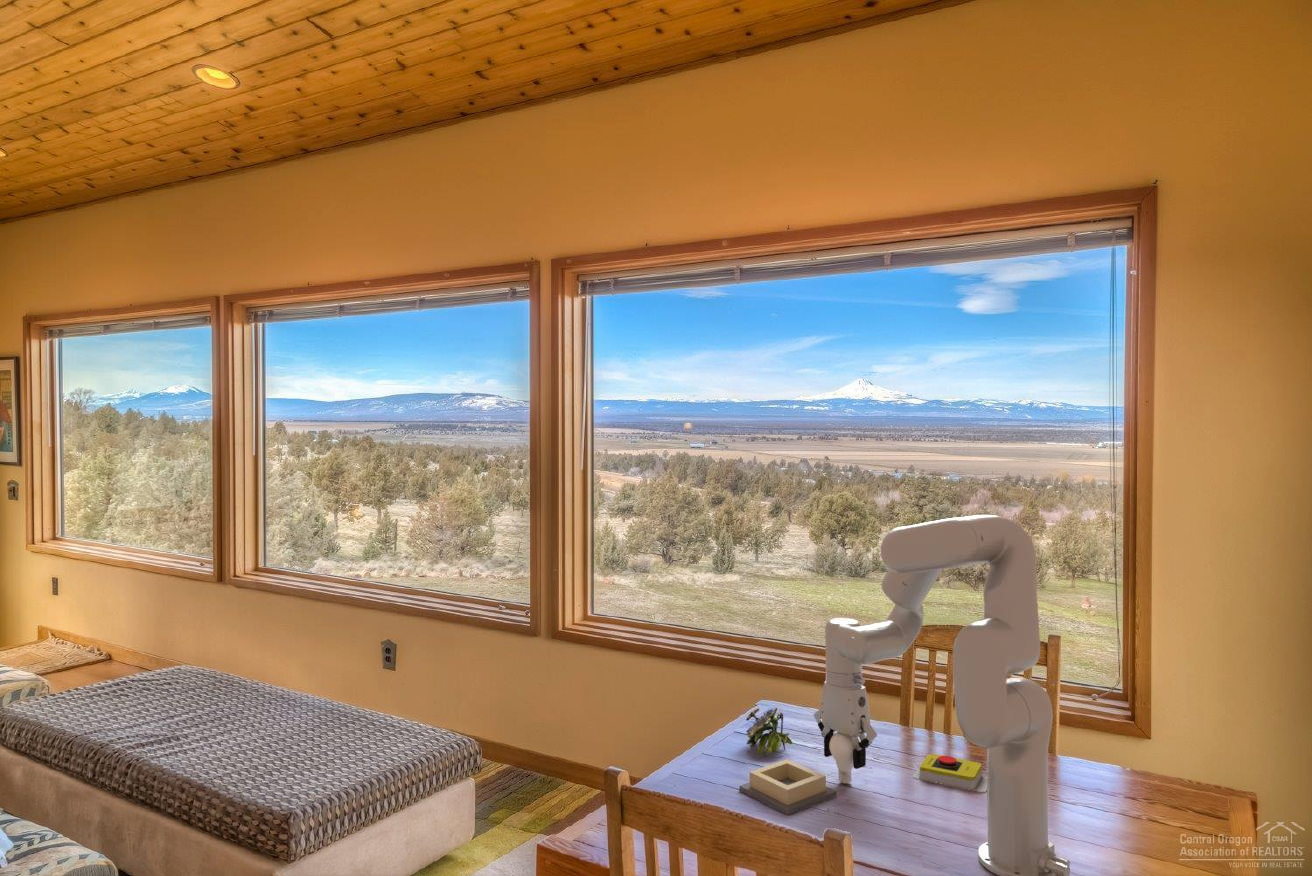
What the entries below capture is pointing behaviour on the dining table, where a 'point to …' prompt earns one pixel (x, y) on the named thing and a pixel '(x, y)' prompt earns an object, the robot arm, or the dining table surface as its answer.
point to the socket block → (787, 786)
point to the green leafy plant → (772, 736)
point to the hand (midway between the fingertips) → (844, 760)
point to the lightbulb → (842, 755)
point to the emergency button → (952, 772)
